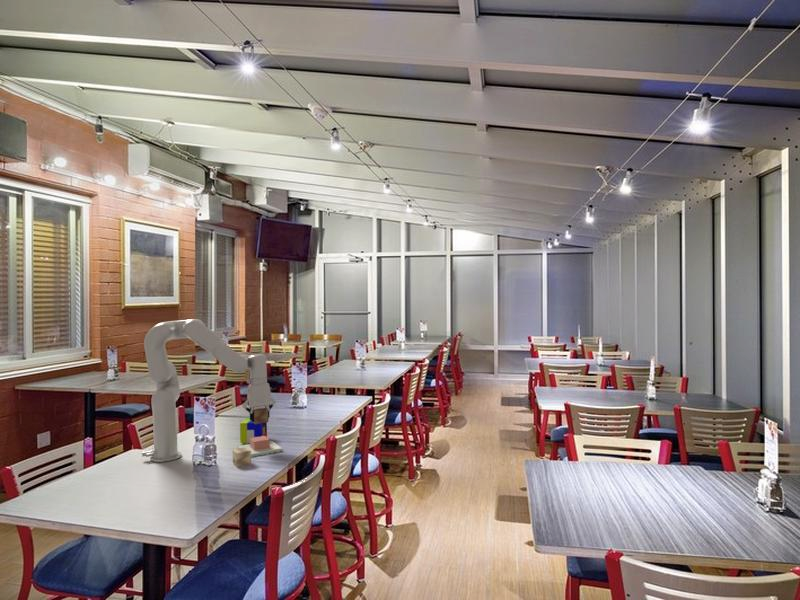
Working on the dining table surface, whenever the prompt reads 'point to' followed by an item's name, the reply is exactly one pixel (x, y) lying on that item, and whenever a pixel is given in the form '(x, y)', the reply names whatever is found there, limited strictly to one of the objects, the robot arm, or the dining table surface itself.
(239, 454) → the maple brick
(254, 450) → the build board
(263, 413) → the walnut brick
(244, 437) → the puzzle toy
